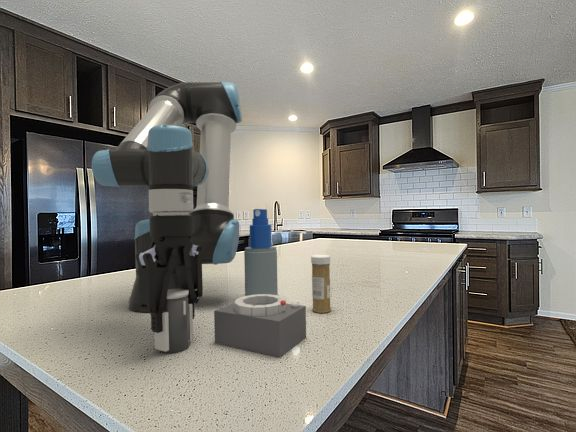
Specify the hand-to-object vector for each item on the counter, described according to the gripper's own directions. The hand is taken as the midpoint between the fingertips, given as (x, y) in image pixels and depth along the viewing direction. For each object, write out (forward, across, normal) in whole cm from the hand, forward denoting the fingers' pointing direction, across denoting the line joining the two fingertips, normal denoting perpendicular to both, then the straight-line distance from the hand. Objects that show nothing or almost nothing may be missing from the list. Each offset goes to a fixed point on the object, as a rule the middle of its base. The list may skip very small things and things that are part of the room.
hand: (174, 343), depth 61 cm
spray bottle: (+1, +34, +4) cm, 34 cm away
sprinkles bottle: (+1, +32, -15) cm, 35 cm away
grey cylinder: (+1, 0, 0) cm, 1 cm away
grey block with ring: (+1, +10, -12) cm, 16 cm away
